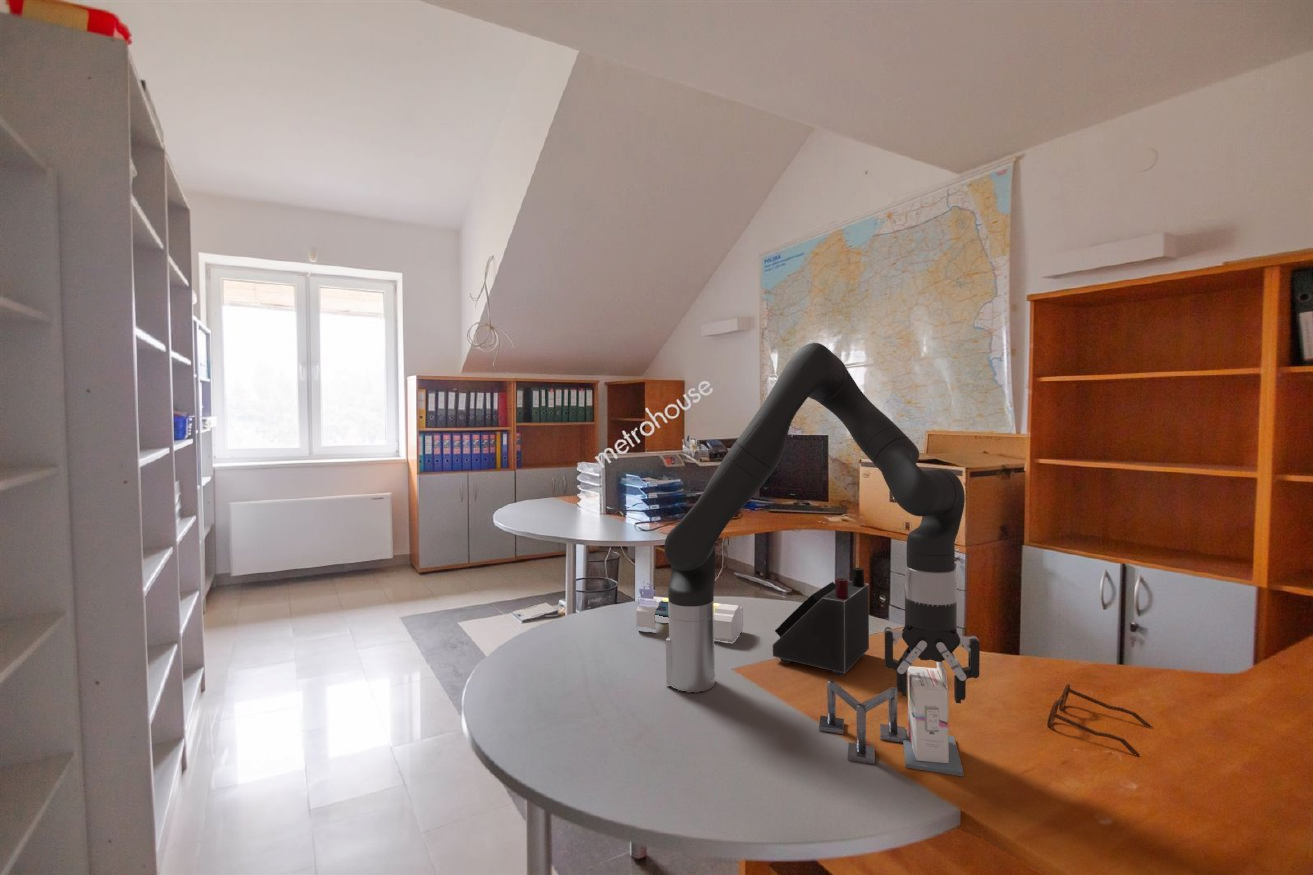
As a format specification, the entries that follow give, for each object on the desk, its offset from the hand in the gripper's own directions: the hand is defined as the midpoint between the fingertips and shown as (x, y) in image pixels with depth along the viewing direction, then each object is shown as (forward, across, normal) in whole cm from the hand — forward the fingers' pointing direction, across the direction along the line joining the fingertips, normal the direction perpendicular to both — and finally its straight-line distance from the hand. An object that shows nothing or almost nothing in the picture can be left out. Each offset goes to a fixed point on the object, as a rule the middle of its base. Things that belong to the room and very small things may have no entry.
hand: (930, 697), depth 99 cm
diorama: (+10, -52, +43) cm, 68 cm away
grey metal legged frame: (+9, -10, 0) cm, 14 cm away
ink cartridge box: (+9, 0, 0) cm, 9 cm away
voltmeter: (+9, -20, +35) cm, 41 cm away
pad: (+9, 0, 0) cm, 9 cm away
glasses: (+10, +28, +17) cm, 34 cm away
